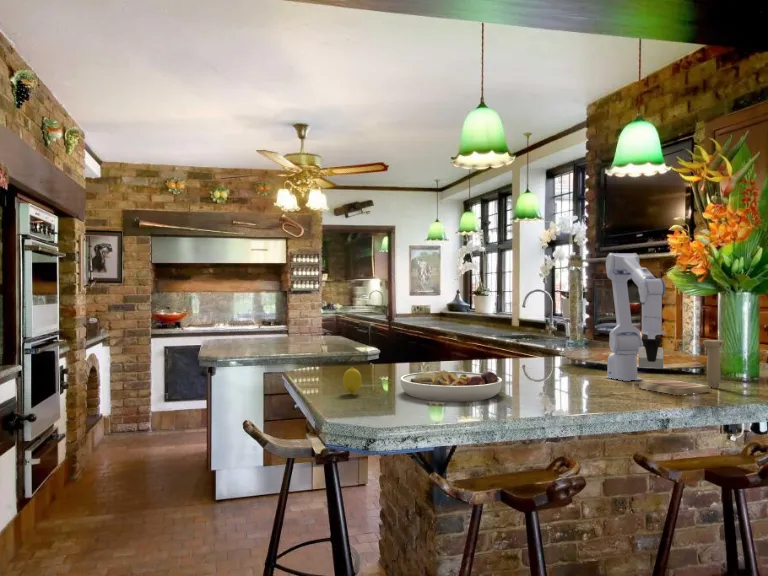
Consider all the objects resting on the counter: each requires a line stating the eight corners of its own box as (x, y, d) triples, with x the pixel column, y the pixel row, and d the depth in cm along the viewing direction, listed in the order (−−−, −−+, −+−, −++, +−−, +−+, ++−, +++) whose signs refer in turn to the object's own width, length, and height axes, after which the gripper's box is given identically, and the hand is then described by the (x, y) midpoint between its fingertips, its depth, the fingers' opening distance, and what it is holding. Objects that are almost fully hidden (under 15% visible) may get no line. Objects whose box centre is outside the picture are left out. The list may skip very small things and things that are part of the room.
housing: (663, 368, 187) (663, 348, 187) (638, 367, 190) (638, 348, 190) (663, 366, 191) (663, 347, 191) (639, 365, 194) (638, 346, 194)
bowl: (382, 398, 175) (382, 371, 175) (425, 384, 202) (425, 360, 202) (482, 408, 161) (482, 378, 161) (514, 391, 188) (514, 366, 188)
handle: (727, 388, 192) (727, 340, 192) (713, 389, 190) (713, 341, 190) (713, 386, 197) (713, 339, 197) (699, 387, 194) (699, 340, 194)
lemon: (359, 396, 177) (359, 368, 177) (340, 395, 178) (340, 368, 178) (363, 393, 183) (363, 366, 183) (345, 392, 184) (345, 365, 184)
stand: (638, 388, 191) (638, 381, 191) (669, 385, 197) (669, 378, 197) (677, 395, 179) (677, 388, 179) (709, 392, 185) (709, 385, 185)
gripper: (666, 318, 182) (666, 363, 182) (665, 316, 195) (665, 358, 195) (640, 318, 185) (640, 362, 185) (641, 316, 198) (641, 357, 198)
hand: (651, 360), depth 190 cm, fingers closed on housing, 4 cm apart
